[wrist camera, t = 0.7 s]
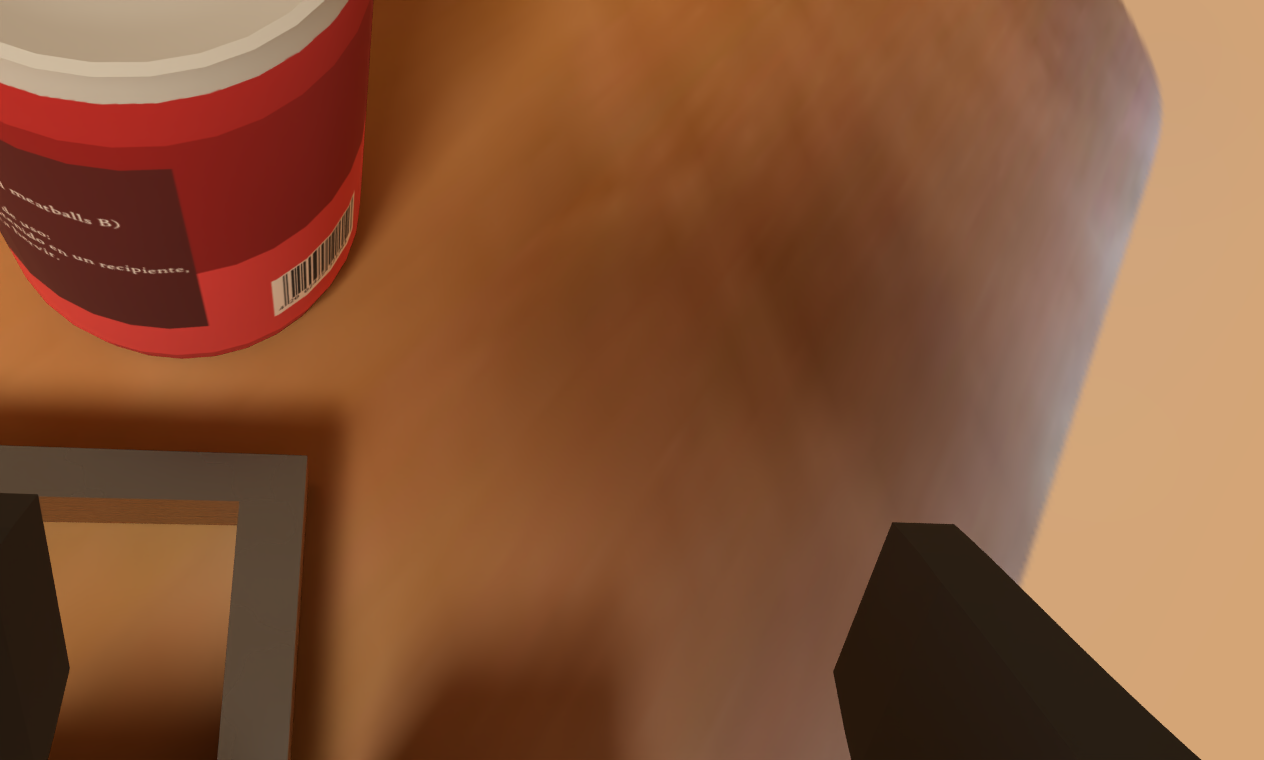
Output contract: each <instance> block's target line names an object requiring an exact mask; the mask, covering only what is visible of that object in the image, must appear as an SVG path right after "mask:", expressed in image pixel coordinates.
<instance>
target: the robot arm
mask: <svg viewBox="0 0 1264 760" xmlns="http://www.w3.org/2000/svg"><path fill="white" fill-rule="evenodd" d="M69 669H70V667H69V661H68V656H67V650H66V645H65V639H64V634H63V629H62V623H61V618H60V612H59V607H58V601H57V596H56V590H55V585H54V579H53V574H52V568H51V563H50V557H49V552H48V546H47V541H46V535H45V530H44V524H43V519H42V513H41V508H40V502H39V497H38V494H18V493H0V760H48V756H49V752H50V749H51V745H52V741H53V737H54V733H55V729H56V724H57V720H58V716H59V712H60V707H61V703H62V699H63V695H64V691H65V686H66V682H67V678H68V674H69ZM833 673H834V678H835V683H836V688H837V694H838V699H839V704H840V709H841V714H842V719H843V725H844V730H845V734H846V739H847V743H848V747H849V752H850V756H851V760H1201V759H1200V758H1199V757H1197V756H1196V755H1195V754H1194V753H1193V752H1192V751H1191V750H1190V749H1188V748H1187V747H1186V746H1185V745H1184V744H1183V743H1182V742H1181V741H1180V740H1179V739H1178V738H1176V737H1175V736H1174V735H1173V734H1172V733H1171V732H1170V731H1169V730H1168V729H1167V728H1165V727H1164V726H1163V725H1162V724H1161V723H1160V722H1159V721H1158V720H1157V719H1156V718H1155V717H1153V716H1152V715H1151V714H1150V713H1149V712H1148V711H1147V710H1146V709H1145V708H1144V707H1143V706H1141V704H1139V702H1138V701H1136V700H1135V699H1134V698H1133V697H1132V696H1131V695H1130V694H1129V693H1128V692H1127V691H1126V690H1125V689H1124V688H1123V687H1122V686H1121V685H1120V684H1119V683H1118V682H1116V681H1115V680H1114V679H1113V678H1112V677H1111V676H1110V675H1109V674H1108V673H1107V672H1106V671H1105V670H1104V669H1103V668H1102V667H1101V666H1100V665H1099V664H1098V663H1097V662H1096V661H1095V660H1094V659H1093V658H1092V657H1091V656H1090V655H1088V654H1087V653H1086V652H1085V651H1084V650H1083V649H1082V648H1081V647H1080V646H1079V645H1078V644H1077V643H1076V642H1075V641H1074V640H1073V639H1072V638H1071V637H1070V636H1069V635H1068V634H1067V633H1066V632H1065V631H1064V630H1063V629H1062V628H1061V627H1060V626H1059V625H1058V624H1057V623H1056V622H1055V621H1054V620H1053V619H1052V618H1051V617H1050V616H1049V615H1048V614H1047V613H1046V612H1045V611H1044V610H1043V609H1042V608H1041V607H1040V606H1039V605H1038V604H1037V603H1036V602H1035V601H1034V600H1033V599H1032V598H1031V597H1030V596H1029V595H1027V594H1026V593H1025V592H1024V591H1023V590H1022V589H1021V588H1020V587H1019V586H1018V585H1017V584H1016V583H1015V582H1014V581H1013V580H1012V579H1011V578H1010V577H1009V576H1008V575H1007V574H1006V573H1005V572H1004V571H1003V570H1002V569H1001V568H1000V567H999V566H998V565H997V564H996V563H995V562H994V561H993V560H992V559H991V558H990V557H989V556H988V555H987V554H986V553H985V552H984V551H982V550H981V549H980V548H979V547H978V546H977V545H976V544H975V543H974V542H973V541H972V540H971V539H970V538H969V537H967V536H966V535H965V534H964V533H963V532H962V531H961V530H960V529H959V528H958V527H956V526H955V525H954V524H927V523H897V522H892V525H891V527H890V530H889V532H888V535H887V537H886V540H885V542H884V545H883V547H882V550H881V552H880V555H879V557H878V560H877V562H876V565H875V567H874V570H873V573H872V575H871V578H870V580H869V583H868V585H867V588H866V590H865V593H864V595H863V598H862V600H861V603H860V605H859V608H858V610H857V613H856V615H855V618H854V621H853V623H852V626H851V628H850V631H849V633H848V636H847V638H846V641H845V643H844V646H843V648H842V651H841V653H840V656H839V658H838V661H837V663H836V666H835V669H834V671H833Z"/></svg>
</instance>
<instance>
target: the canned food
mask: <svg viewBox="0 0 1264 760" xmlns="http://www.w3.org/2000/svg"><path fill="white" fill-rule="evenodd" d="M372 15H373V0H0V232H1V234H2V235H3V237H4V239H5V241H6V243H7V244H8V246H9V248H10V250H11V251H12V253H13V255H14V257H15V259H16V260H17V262H18V264H19V266H20V268H21V269H22V271H23V273H24V275H25V277H26V278H27V279H28V281H29V282H30V283H31V284H32V285H33V287H34V288H35V289H36V290H37V292H38V293H39V294H40V295H41V297H42V298H43V299H44V300H45V301H46V303H47V304H48V305H50V306H51V307H52V308H53V309H55V310H56V311H57V312H58V313H60V314H61V315H62V316H63V317H65V318H66V319H67V320H68V321H70V322H71V323H72V324H73V325H75V326H77V327H79V328H81V329H83V330H85V331H87V332H89V333H91V334H93V335H95V336H97V337H99V338H100V339H102V340H104V341H106V342H109V343H111V344H114V345H116V346H119V347H122V348H126V349H129V350H133V351H136V352H140V353H143V354H146V355H151V356H161V357H171V358H181V359H183V358H196V357H209V356H217V355H221V354H225V353H229V352H233V351H237V350H240V349H244V348H248V347H250V346H252V345H254V344H256V343H258V342H261V341H263V340H265V339H267V338H269V337H271V336H274V335H276V334H277V333H279V332H280V331H282V330H283V329H284V328H286V327H287V326H289V325H290V324H291V323H293V322H294V321H296V320H297V319H298V318H300V317H301V316H302V315H303V314H304V313H305V312H306V311H307V310H308V309H309V308H310V307H311V306H312V305H313V304H314V302H315V301H316V300H317V299H318V298H319V297H320V296H321V295H322V294H323V293H324V292H325V291H326V290H327V288H328V287H329V286H330V285H331V283H332V282H333V280H334V278H335V277H336V275H337V274H338V272H339V270H340V269H341V267H342V266H343V264H344V262H345V261H346V259H347V256H348V253H349V251H350V248H351V245H352V242H353V239H354V237H355V234H356V230H357V222H358V214H359V207H360V195H361V180H362V165H363V150H364V135H365V120H366V105H367V90H368V75H369V60H370V45H371V30H372Z"/></svg>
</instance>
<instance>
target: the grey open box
mask: <svg viewBox="0 0 1264 760" xmlns="http://www.w3.org/2000/svg"><path fill="white" fill-rule="evenodd" d="M0 493H18V494H38V497H39V502H40V508H41V513H42V519H43V522H97V523H151V524H206V525H237V535H236V546H235V558H234V570H233V581H232V593H231V605H230V616H229V628H228V639H227V651H226V663H225V674H224V686H223V697H222V709H221V721H220V732H219V744H218V756H217V760H291V748H292V732H293V716H294V701H295V685H296V669H297V654H298V638H299V622H300V607H301V591H302V575H303V560H304V544H305V528H306V513H307V497H308V461H307V456H302V455H272V454H242V453H212V452H182V451H152V450H122V449H92V448H62V447H32V446H2V445H0Z"/></svg>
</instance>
